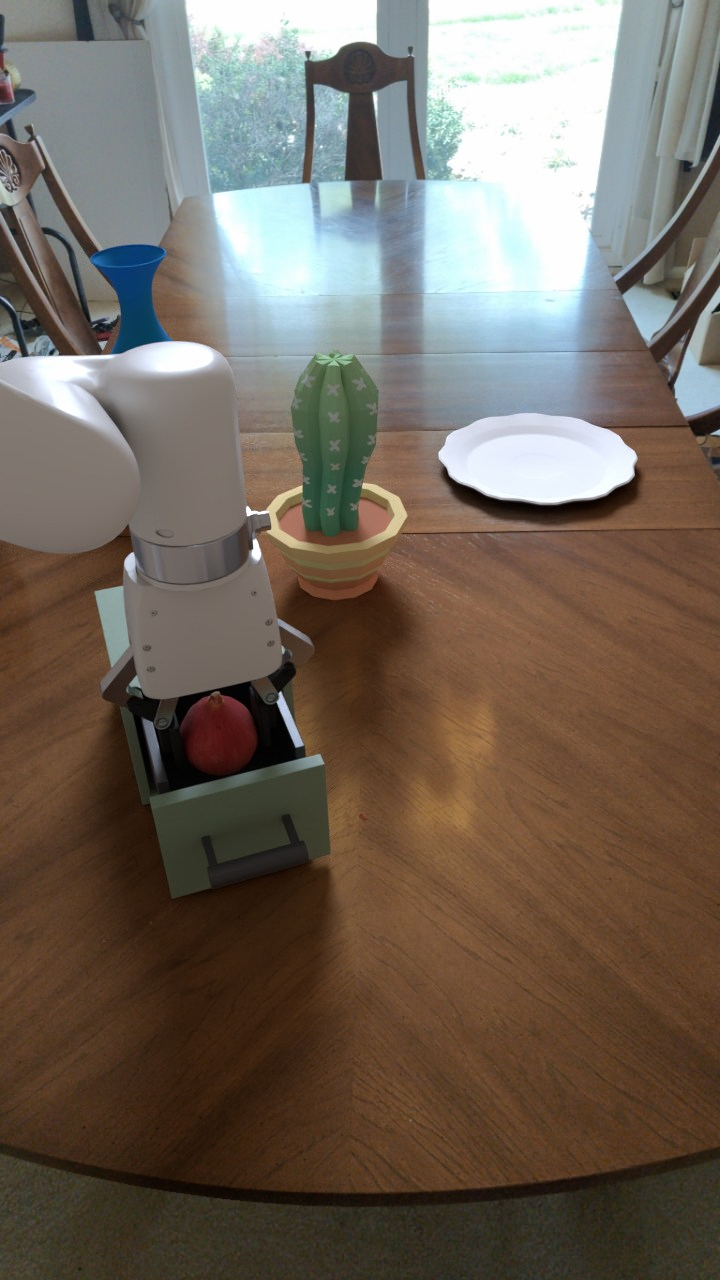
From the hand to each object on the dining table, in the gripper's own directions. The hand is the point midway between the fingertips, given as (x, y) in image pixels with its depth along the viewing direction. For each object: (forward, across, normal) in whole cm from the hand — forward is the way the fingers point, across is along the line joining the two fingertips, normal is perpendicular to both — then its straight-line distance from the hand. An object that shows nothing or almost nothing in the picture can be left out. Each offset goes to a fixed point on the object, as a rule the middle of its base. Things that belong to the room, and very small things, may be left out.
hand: (220, 743), depth 74 cm
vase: (+10, -5, -63) cm, 64 cm away
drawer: (+9, 0, +1) cm, 9 cm away
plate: (+9, -51, -47) cm, 70 cm away
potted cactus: (+10, -19, -32) cm, 39 cm away
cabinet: (+10, 0, -13) cm, 16 cm away
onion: (+3, 0, 0) cm, 3 cm away
